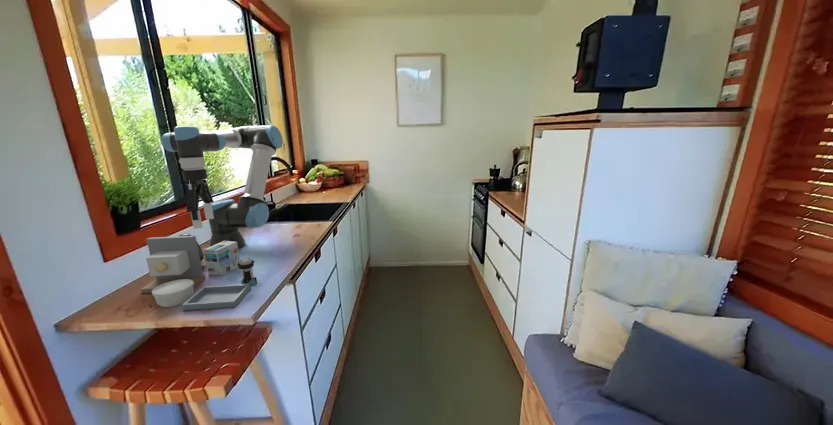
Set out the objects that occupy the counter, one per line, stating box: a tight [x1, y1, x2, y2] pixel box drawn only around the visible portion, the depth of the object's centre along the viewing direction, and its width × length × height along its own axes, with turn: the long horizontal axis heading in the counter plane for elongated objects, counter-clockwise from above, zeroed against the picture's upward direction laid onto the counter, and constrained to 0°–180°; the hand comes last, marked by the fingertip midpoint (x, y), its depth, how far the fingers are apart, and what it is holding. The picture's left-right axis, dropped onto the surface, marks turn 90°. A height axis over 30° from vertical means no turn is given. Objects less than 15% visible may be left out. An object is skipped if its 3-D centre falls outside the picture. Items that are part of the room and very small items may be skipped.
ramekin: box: [151, 279, 194, 308], centre depth 104 cm, size 11×11×5 cm
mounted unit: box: [140, 235, 206, 294], centre depth 113 cm, size 10×16×18 cm, turn 95°
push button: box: [237, 257, 262, 288], centre depth 112 cm, size 7×5×10 cm
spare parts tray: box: [181, 284, 252, 313], centre depth 104 cm, size 12×16×2 cm
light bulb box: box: [202, 241, 241, 276], centre depth 126 cm, size 11×7×11 cm, turn 168°
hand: (204, 223), depth 122 cm, fingers open, 13 cm apart
